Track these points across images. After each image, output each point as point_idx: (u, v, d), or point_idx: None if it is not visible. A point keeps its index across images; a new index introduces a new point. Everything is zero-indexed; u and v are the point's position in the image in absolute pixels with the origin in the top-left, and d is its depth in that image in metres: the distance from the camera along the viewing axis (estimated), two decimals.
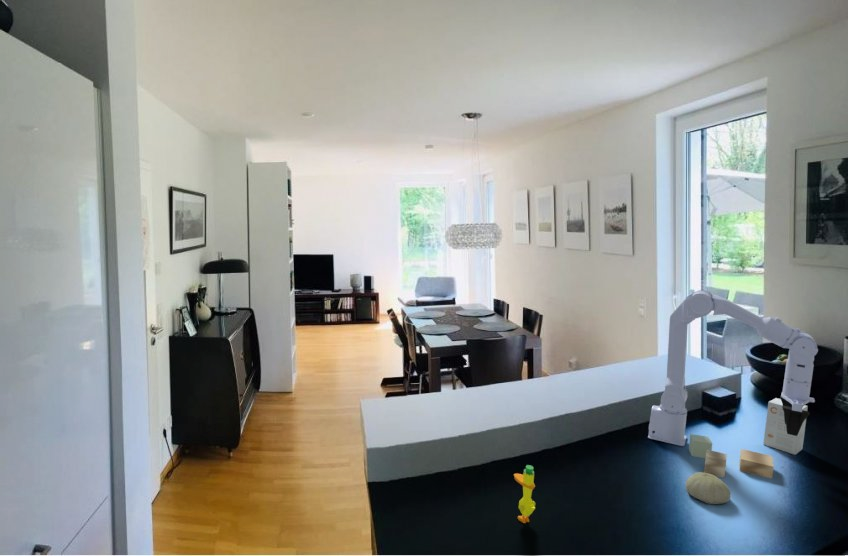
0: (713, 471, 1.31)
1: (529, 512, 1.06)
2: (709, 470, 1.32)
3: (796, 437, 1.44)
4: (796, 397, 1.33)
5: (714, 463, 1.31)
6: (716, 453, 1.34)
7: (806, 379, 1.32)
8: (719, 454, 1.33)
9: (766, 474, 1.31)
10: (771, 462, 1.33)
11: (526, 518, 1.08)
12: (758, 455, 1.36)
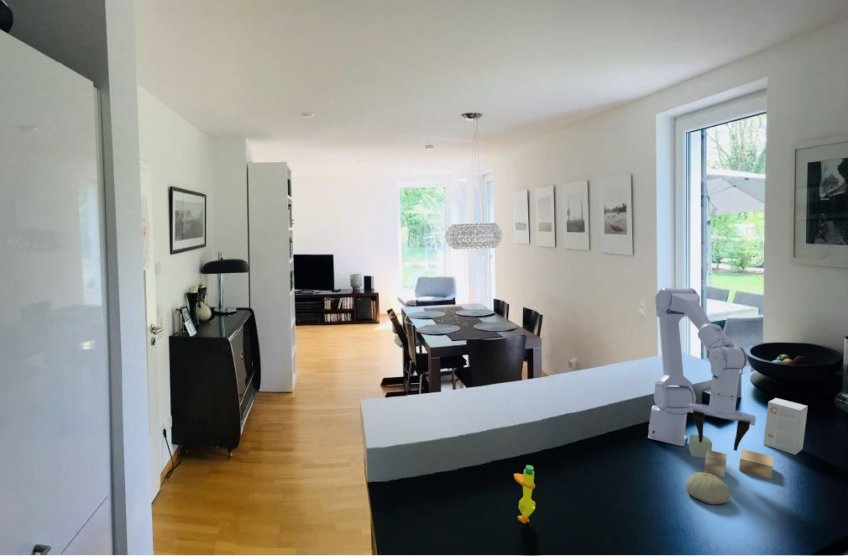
0: (713, 471, 1.31)
1: (529, 512, 1.06)
2: (709, 470, 1.32)
3: (796, 437, 1.44)
4: (709, 406, 1.33)
5: (714, 463, 1.31)
6: (716, 453, 1.34)
7: (719, 391, 1.29)
8: (719, 454, 1.33)
9: (766, 473, 1.31)
10: (771, 462, 1.32)
11: (526, 518, 1.08)
12: (759, 455, 1.36)
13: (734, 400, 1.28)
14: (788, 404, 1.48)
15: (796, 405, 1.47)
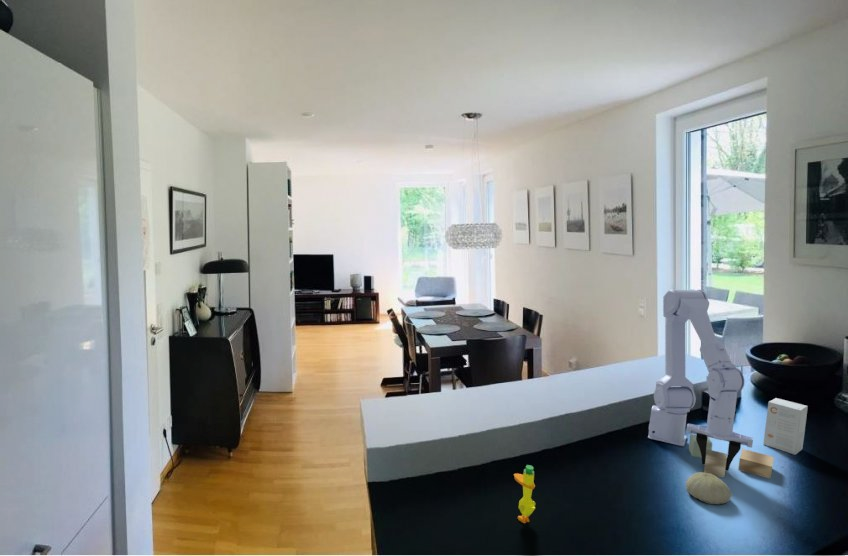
0: (713, 471, 1.31)
1: (529, 512, 1.06)
2: (709, 470, 1.32)
3: (796, 437, 1.44)
4: (706, 427, 1.33)
5: (715, 463, 1.31)
6: (716, 453, 1.34)
7: (717, 413, 1.29)
8: (719, 454, 1.33)
9: (765, 474, 1.31)
10: (771, 462, 1.32)
11: (526, 518, 1.08)
12: (759, 455, 1.36)
13: (731, 422, 1.29)
14: (788, 404, 1.48)
15: (796, 405, 1.47)
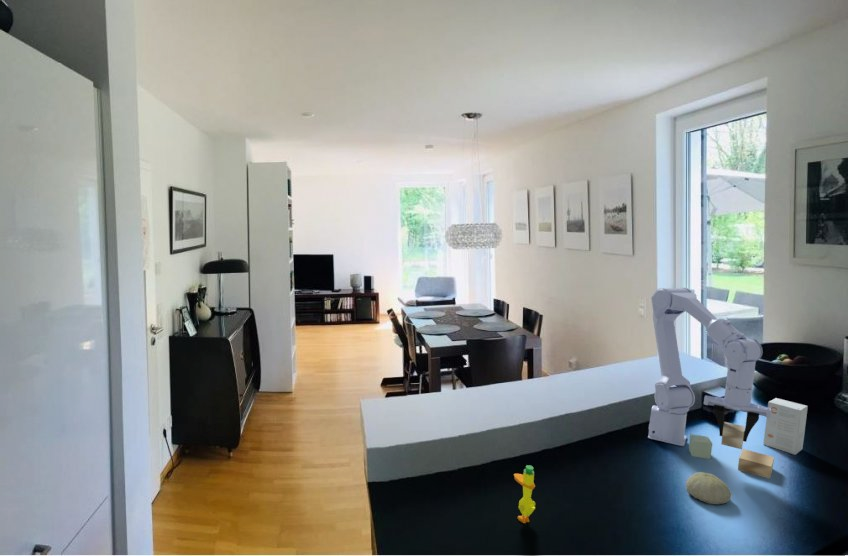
0: (731, 442, 1.31)
1: (529, 512, 1.06)
2: (726, 442, 1.31)
3: (796, 437, 1.44)
4: (724, 398, 1.33)
5: (732, 434, 1.31)
6: (734, 425, 1.33)
7: (737, 385, 1.29)
8: (737, 426, 1.33)
9: (764, 473, 1.31)
10: (770, 462, 1.32)
11: (526, 518, 1.08)
12: (759, 455, 1.36)
13: (749, 392, 1.29)
14: (788, 404, 1.48)
15: (796, 405, 1.47)
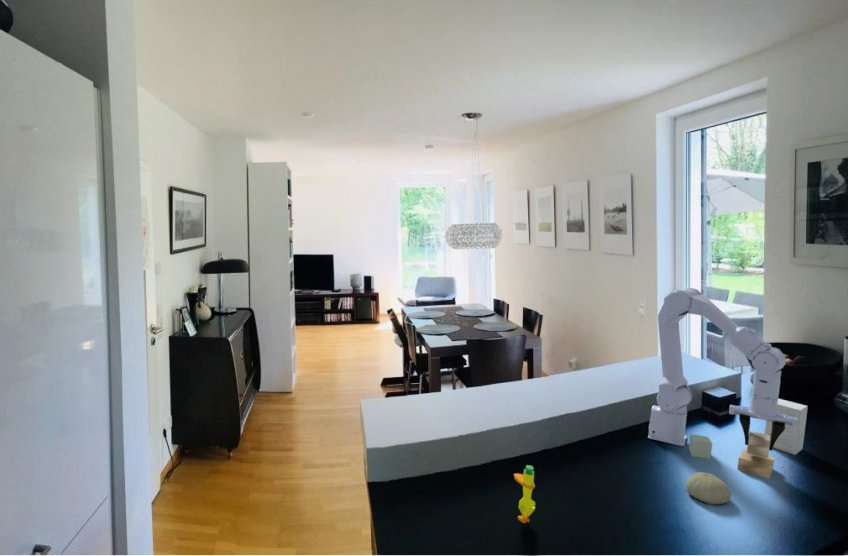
0: (756, 451, 1.33)
1: (529, 512, 1.06)
2: (752, 451, 1.33)
3: (796, 437, 1.44)
4: (749, 408, 1.35)
5: (758, 444, 1.32)
6: (759, 434, 1.35)
7: (768, 395, 1.30)
8: (762, 435, 1.35)
9: (764, 473, 1.31)
10: (770, 462, 1.32)
11: (526, 518, 1.08)
12: None
13: (776, 402, 1.31)
14: (788, 404, 1.48)
15: (796, 405, 1.47)
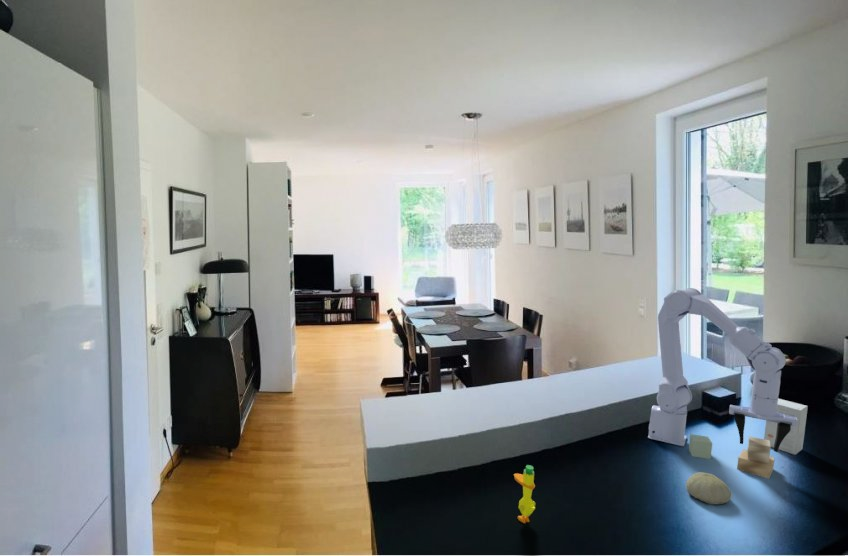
0: (757, 457, 1.33)
1: (529, 512, 1.06)
2: (753, 456, 1.33)
3: (796, 437, 1.44)
4: (749, 408, 1.35)
5: (758, 449, 1.32)
6: (759, 440, 1.35)
7: (768, 395, 1.30)
8: (762, 440, 1.35)
9: (763, 474, 1.31)
10: (770, 463, 1.32)
11: (526, 518, 1.08)
12: None
13: (776, 402, 1.31)
14: (788, 404, 1.48)
15: (796, 405, 1.47)
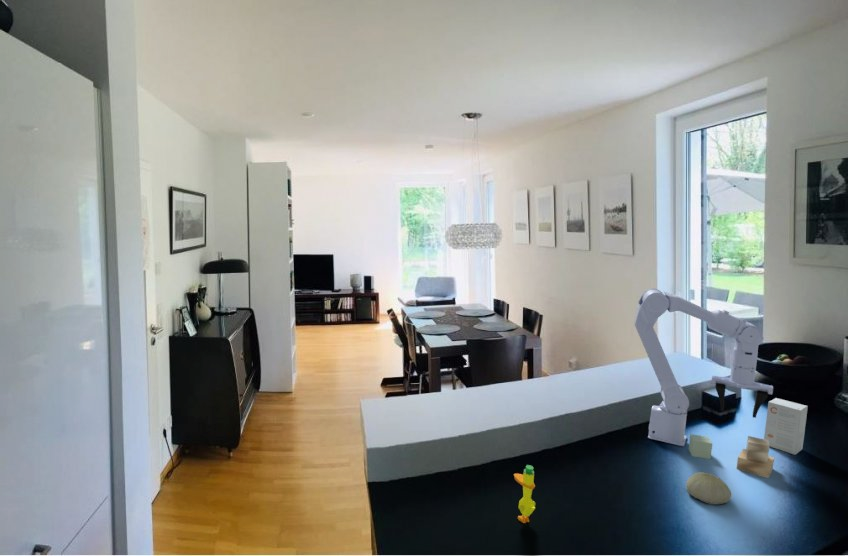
0: (756, 457, 1.33)
1: (529, 512, 1.06)
2: (752, 456, 1.33)
3: (796, 437, 1.44)
4: (730, 378, 1.46)
5: (757, 449, 1.33)
6: (758, 439, 1.35)
7: (753, 365, 1.41)
8: (761, 440, 1.35)
9: (763, 473, 1.31)
10: (769, 462, 1.32)
11: (526, 518, 1.08)
12: None
13: (753, 372, 1.42)
14: (788, 404, 1.48)
15: (796, 405, 1.47)
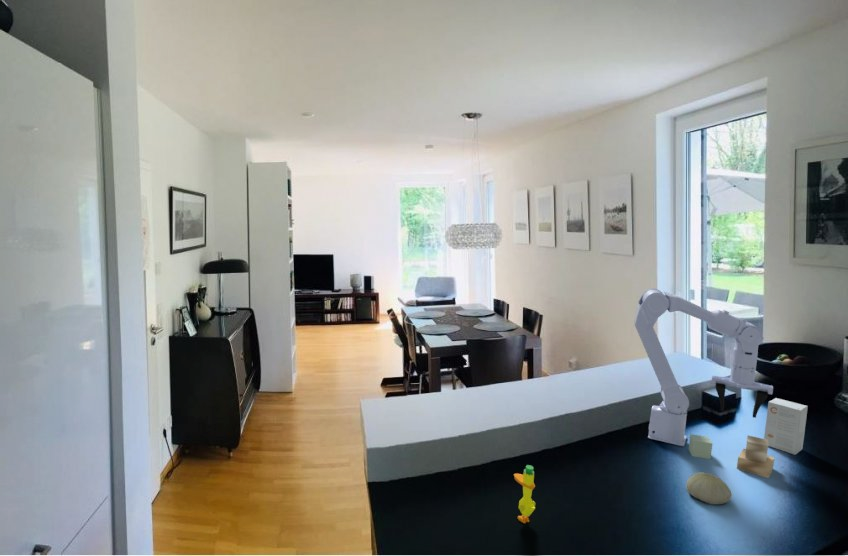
0: (755, 456, 1.33)
1: (529, 512, 1.06)
2: (750, 455, 1.34)
3: (796, 437, 1.44)
4: (730, 378, 1.46)
5: (756, 448, 1.33)
6: (757, 439, 1.36)
7: (753, 365, 1.41)
8: (760, 440, 1.35)
9: (763, 473, 1.31)
10: (770, 462, 1.32)
11: (526, 518, 1.08)
12: None
13: (753, 372, 1.42)
14: (788, 404, 1.48)
15: (796, 405, 1.47)
